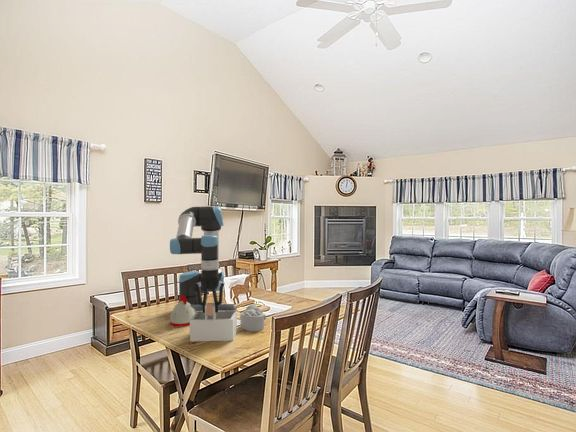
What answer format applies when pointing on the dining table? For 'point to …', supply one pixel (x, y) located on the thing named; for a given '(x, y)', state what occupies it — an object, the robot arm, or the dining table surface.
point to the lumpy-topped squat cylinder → (252, 320)
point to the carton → (213, 326)
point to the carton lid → (210, 308)
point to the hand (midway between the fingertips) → (210, 319)
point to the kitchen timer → (182, 313)
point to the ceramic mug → (254, 308)
